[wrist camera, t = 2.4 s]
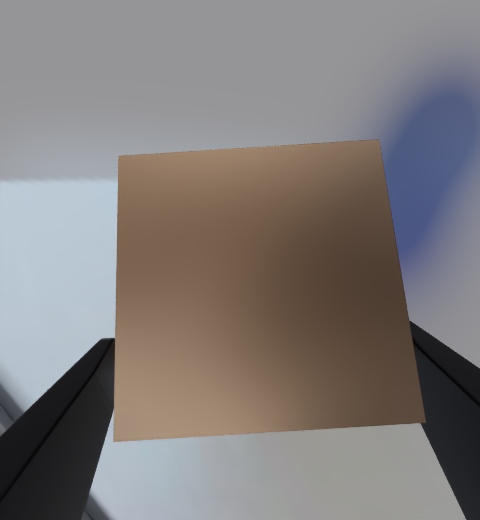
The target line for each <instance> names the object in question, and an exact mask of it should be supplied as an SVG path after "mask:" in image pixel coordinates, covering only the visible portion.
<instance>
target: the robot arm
mask: <svg viewBox="0 0 480 520" xmlns="http://www.w3.org/2000/svg"><path fill="white" fill-rule="evenodd" d="M409 323H410V329H411V335H412V341H413V347H414V353H415V359H416V365H417V371H418V377H419V383H420V389H421V395H422V401H423V407H424V413H425V419H426V423H421V425H422V427H423V429H424V431H425V434H426V436H427V438H428V440H429V442H430V444H431V446H432V448H433V450H434V453H435V455H436V457H437V459H438V461H439V463H440V465H441V467H442V469H443V472H444V474H445V476H446V478H447V480H448V482H449V484H450V486H451V488H452V490H453V493H454V495H455V497H456V499H457V501H458V503H459V505H460V507H461V509H462V512H463V514H464V516H465V518H466V520H480V368H478V367H476V366H475V365H474V364H472V363H471V362H469V361H468V360H467V359H465V358H464V357H462V356H461V355H459V354H458V353H456V352H455V351H453V350H452V349H450V348H449V347H447V346H446V345H445V344H443V343H442V342H440V341H439V340H437V339H436V338H434V337H433V336H432V335H430V334H429V333H427V332H426V331H424V330H423V329H421V328H420V327H418V326H417V325H416V324H414V323H413V322H411V321H409ZM114 383H115V338H103V339H101V340H99V341H98V342H97V343H96V344H95V345H94V346H93V347H92V348H91V349H90V350H89V351H88V352H87V353H86V354H85V355H84V356H83V357H82V358H81V359H80V360H79V361H78V362H76V363H75V364H74V365H73V366H72V367H71V368H70V369H69V370H68V371H67V372H66V373H65V374H64V375H63V376H62V377H61V378H60V379H59V380H58V381H57V382H56V383H55V384H54V385H53V386H52V387H51V388H49V389H48V390H47V391H46V392H45V393H44V394H43V395H42V396H41V397H40V398H39V399H38V400H37V401H36V402H35V403H34V404H33V405H32V406H31V407H30V408H29V409H28V410H27V411H26V412H25V413H24V414H22V415H21V416H20V417H19V418H18V419H17V420H16V421H15V422H14V423H13V424H12V425H11V426H10V427H9V428H8V429H7V430H6V431H5V432H4V433H3V434H2V435H1V436H0V520H81V519H82V516H83V512H84V509H85V505H86V502H87V499H88V495H89V492H90V488H91V485H92V482H93V478H94V475H95V471H96V468H97V465H98V461H99V458H100V454H101V451H102V448H103V444H104V441H105V437H106V434H107V431H108V427H109V424H110V420H111V417H112V413H113V410H114Z"/></svg>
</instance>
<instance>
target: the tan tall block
mask: <svg viewBox="0 0 480 520" xmlns="http://www.w3.org/2000/svg"><path fill="white" fill-rule="evenodd" d="M412 423H426V419H425V413H424V407H423V401H422V395H421V389H420V383H419V377H418V371H417V365H416V359H415V353H414V347H413V341H412V335H411V329H410V323H409V317H408V311H407V305H406V299H405V293H404V287H403V281H402V275H401V269H400V263H399V257H398V251H397V245H396V238H395V232H394V227H393V220H392V215H391V209H390V202H389V196H388V191H387V184H386V179H385V172H384V166H383V160H382V154H381V148H380V142H379V140H362V141H347V142H330V143H314V144H298V145H283V146H267V147H252V148H235V149H219V150H205V151H189V152H173V153H156V154H140V155H125V156H119V159H118V215H117V271H116V327H115V383H114V439H113V442H120V441H136V440H153V439H169V438H185V437H201V436H217V435H234V434H250V433H266V432H282V431H298V430H315V429H331V428H347V427H363V426H379V425H396V424H412Z"/></svg>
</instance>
